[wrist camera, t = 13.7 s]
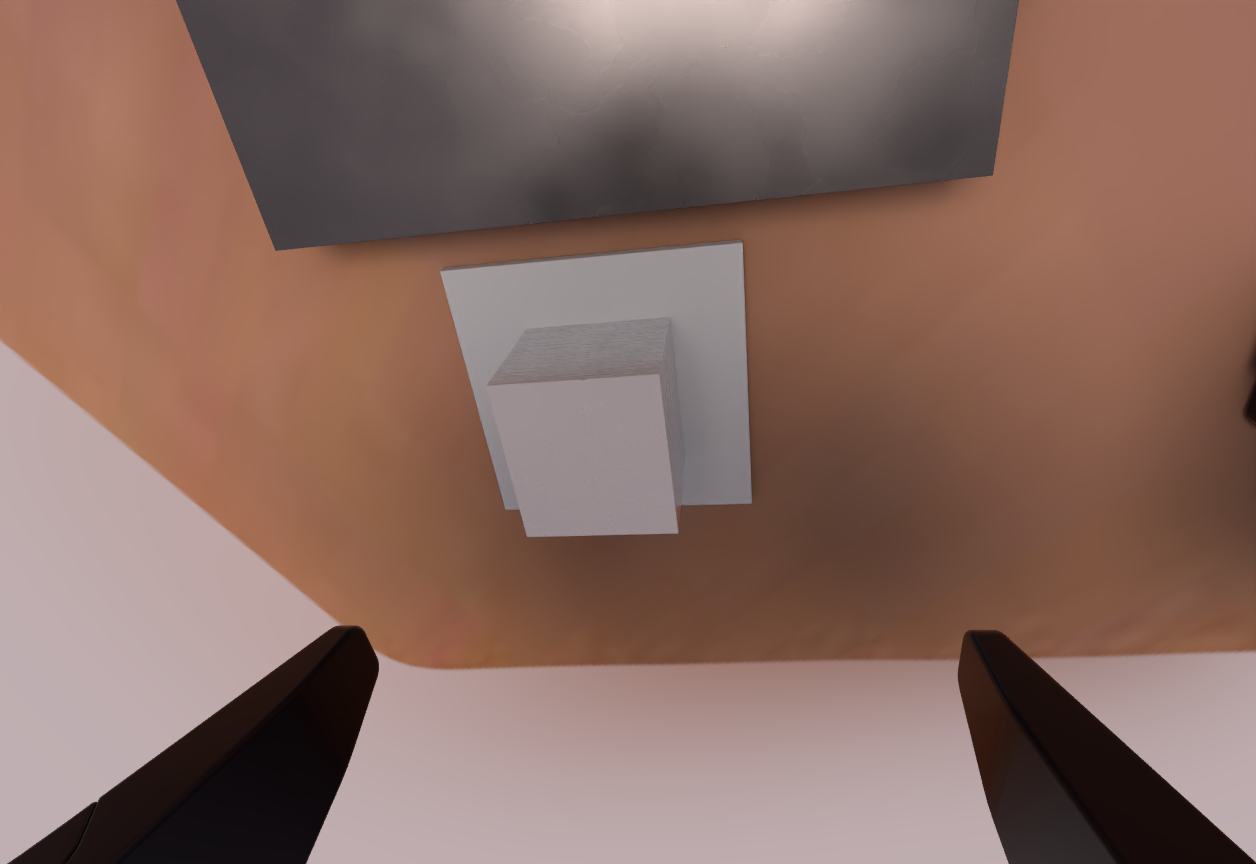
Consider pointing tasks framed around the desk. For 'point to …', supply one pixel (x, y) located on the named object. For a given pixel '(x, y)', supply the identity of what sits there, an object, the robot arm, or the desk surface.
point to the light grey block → (593, 428)
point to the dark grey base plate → (590, 105)
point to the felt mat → (617, 291)
